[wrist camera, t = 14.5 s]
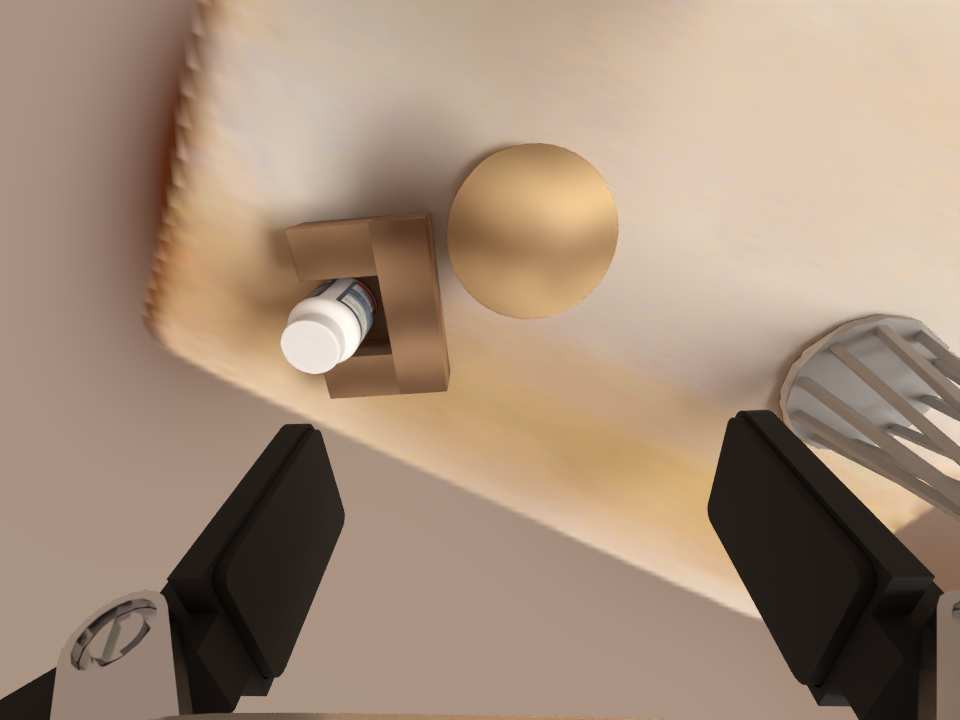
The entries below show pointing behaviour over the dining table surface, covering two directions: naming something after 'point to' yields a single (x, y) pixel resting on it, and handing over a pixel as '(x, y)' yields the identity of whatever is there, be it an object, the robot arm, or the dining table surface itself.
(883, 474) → the grey lattice tower
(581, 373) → the dining table surface
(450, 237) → the wooden spool
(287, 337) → the pill bottle
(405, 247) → the notched board
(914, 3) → the dining table surface
